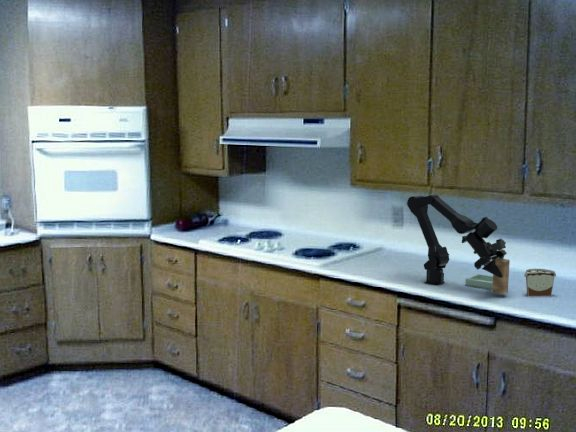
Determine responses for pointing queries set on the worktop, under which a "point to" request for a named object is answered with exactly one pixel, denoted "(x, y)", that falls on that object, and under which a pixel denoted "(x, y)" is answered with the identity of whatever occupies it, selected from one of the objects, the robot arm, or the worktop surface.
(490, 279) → the tray
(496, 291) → the walnut post
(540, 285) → the food container
